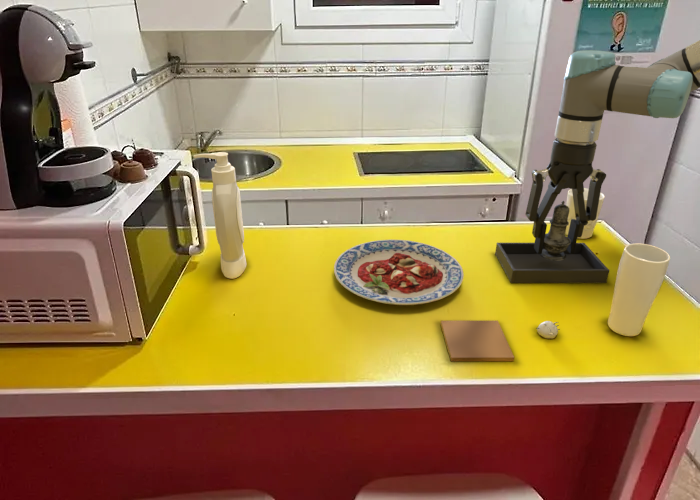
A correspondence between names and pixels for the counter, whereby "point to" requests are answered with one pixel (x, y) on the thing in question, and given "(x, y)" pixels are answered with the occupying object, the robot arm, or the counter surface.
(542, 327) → the cream rounded lump
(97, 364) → the counter surface
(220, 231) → the soap bottle
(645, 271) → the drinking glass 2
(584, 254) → the tray
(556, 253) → the salt shaker
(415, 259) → the ceramic plate
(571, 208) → the white cup
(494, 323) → the cork mat
